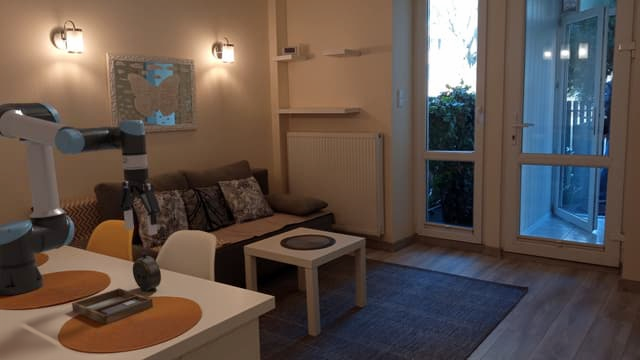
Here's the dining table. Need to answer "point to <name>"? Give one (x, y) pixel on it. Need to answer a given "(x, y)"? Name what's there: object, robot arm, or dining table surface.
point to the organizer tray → (111, 305)
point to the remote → (120, 306)
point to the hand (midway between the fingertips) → (141, 232)
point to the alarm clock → (146, 272)
